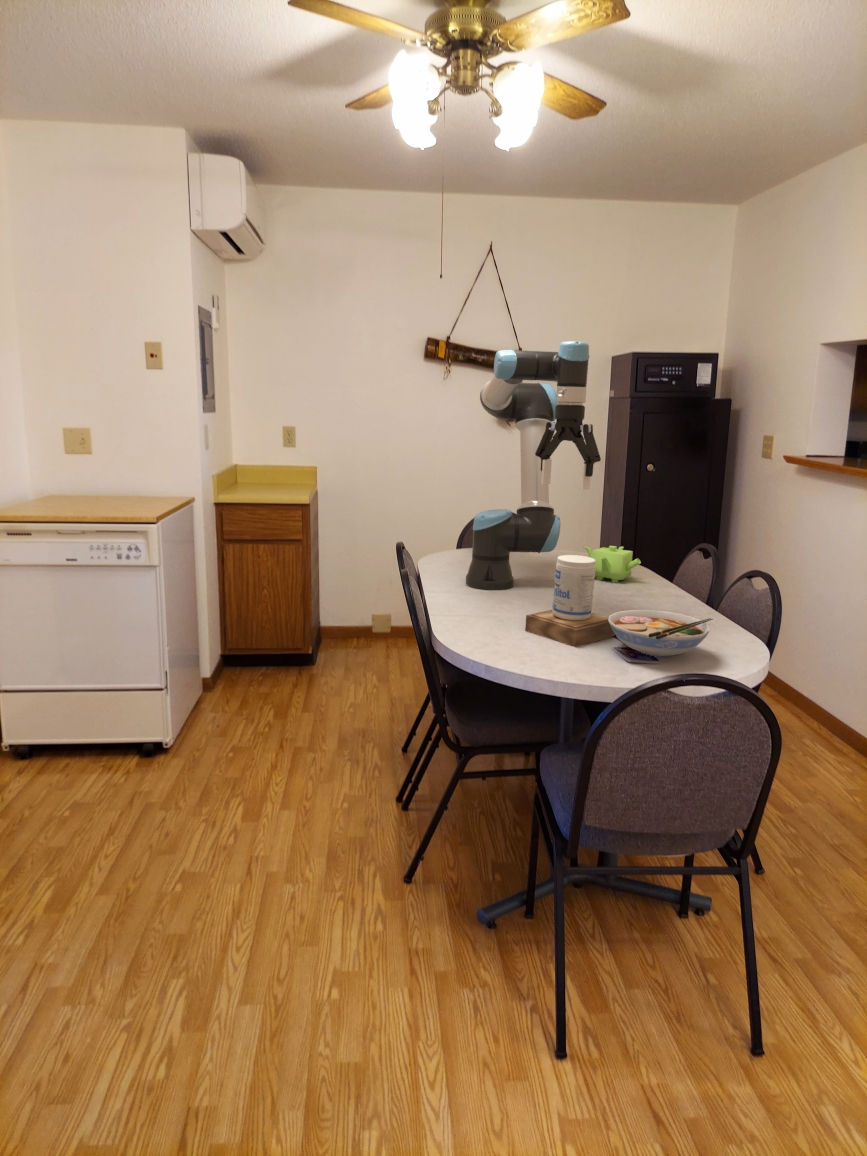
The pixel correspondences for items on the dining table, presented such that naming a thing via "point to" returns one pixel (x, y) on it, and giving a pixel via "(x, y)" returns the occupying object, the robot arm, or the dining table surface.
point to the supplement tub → (574, 587)
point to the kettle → (612, 562)
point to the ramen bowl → (658, 631)
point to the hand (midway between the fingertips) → (564, 486)
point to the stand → (569, 628)
